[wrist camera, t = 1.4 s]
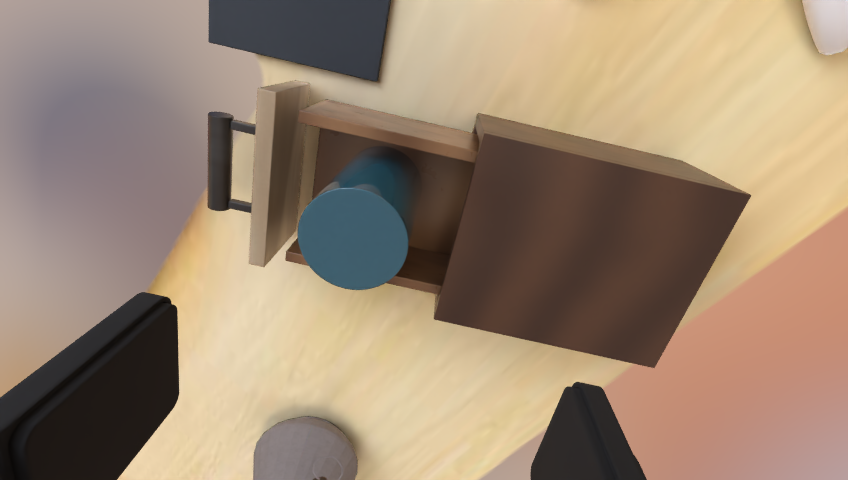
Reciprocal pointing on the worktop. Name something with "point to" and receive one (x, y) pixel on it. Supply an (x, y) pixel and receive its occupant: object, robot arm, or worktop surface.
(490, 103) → the worktop surface
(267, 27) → the mat
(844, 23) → the banana
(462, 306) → the cabinet
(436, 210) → the drawer
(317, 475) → the turkish coffee pot
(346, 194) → the teal blue cylinder
